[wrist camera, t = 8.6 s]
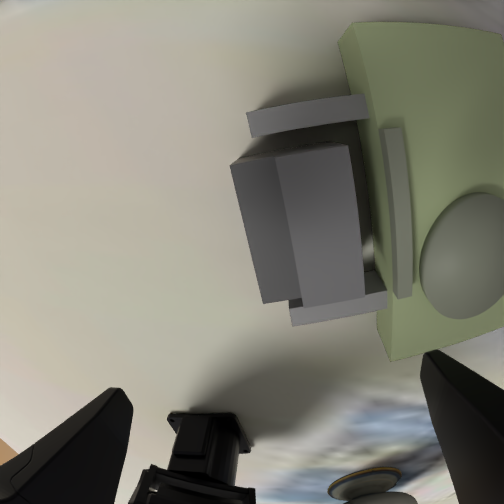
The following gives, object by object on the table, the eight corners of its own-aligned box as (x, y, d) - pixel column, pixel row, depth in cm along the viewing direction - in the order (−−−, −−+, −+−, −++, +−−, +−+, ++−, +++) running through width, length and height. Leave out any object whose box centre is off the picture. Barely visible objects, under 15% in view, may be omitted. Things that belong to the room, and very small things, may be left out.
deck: (482, 300, 18) (511, 332, 14) (298, 343, 21) (301, 388, 17) (469, 43, 12) (509, 32, 8) (236, 58, 14) (223, 37, 10)
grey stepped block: (347, 259, 18) (365, 297, 14) (265, 273, 19) (262, 314, 15) (329, 141, 16) (348, 145, 12) (239, 158, 16) (226, 168, 12)
